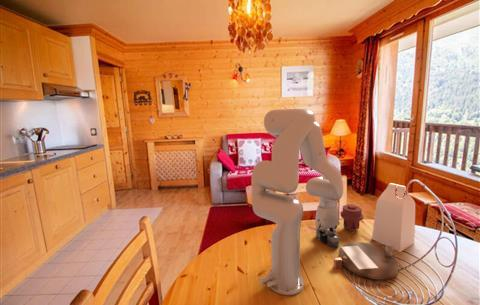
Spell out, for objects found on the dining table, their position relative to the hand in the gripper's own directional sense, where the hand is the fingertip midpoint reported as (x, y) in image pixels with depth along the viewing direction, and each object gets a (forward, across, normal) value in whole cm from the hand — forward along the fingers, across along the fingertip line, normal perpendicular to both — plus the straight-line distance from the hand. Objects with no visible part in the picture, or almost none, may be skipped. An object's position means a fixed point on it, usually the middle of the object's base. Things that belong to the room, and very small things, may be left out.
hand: (327, 240), depth 109 cm
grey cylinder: (0, 0, 0) cm, 0 cm away
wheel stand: (0, +4, +18) cm, 18 cm away
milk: (+1, -25, +14) cm, 29 cm away
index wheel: (-1, -1, +19) cm, 19 cm away
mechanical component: (0, -18, -2) cm, 18 cm away
